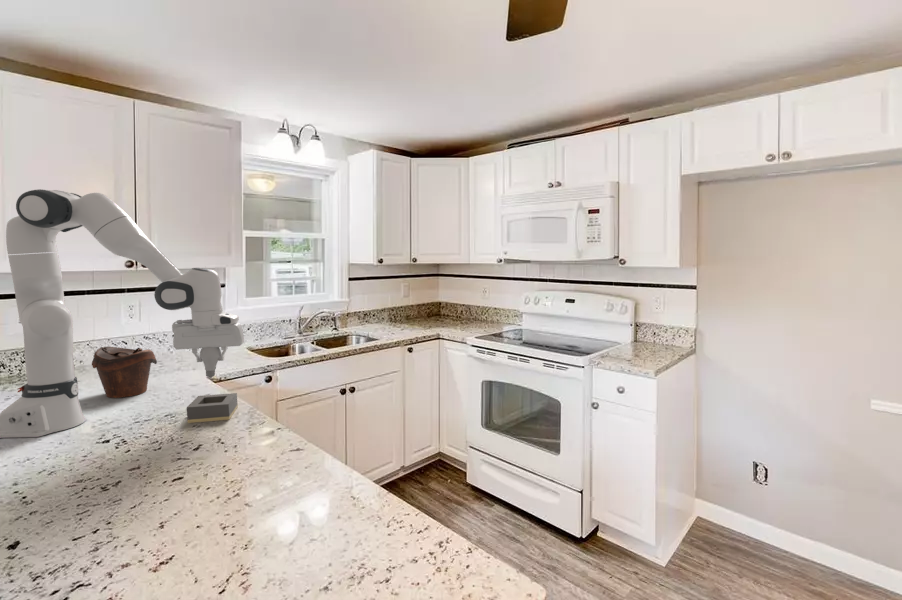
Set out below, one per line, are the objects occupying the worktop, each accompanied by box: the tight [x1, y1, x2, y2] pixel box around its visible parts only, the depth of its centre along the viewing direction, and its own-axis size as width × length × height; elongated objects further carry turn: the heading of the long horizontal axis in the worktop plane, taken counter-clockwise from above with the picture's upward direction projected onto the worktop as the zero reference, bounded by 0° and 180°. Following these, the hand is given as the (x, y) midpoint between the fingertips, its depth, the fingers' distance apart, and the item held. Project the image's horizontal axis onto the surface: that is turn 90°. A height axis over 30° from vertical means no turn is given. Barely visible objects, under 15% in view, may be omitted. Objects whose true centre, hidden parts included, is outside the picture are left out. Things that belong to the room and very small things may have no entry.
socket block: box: [186, 392, 239, 424], centre depth 150 cm, size 12×12×5 cm
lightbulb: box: [199, 347, 222, 379], centre depth 148 cm, size 6×6×11 cm
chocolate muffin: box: [91, 346, 158, 399], centre depth 174 cm, size 18×20×18 cm
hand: (210, 361), depth 148 cm, fingers closed on lightbulb, 5 cm apart
